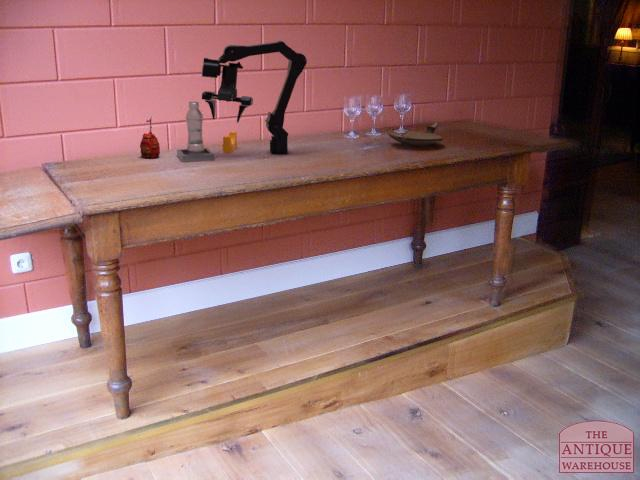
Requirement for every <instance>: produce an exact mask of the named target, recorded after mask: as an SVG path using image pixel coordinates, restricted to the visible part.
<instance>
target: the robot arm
mask: <svg viewBox="0 0 640 480" xmlns="http://www.w3.org/2000/svg"><path fill="white" fill-rule="evenodd" d="M222 52H223V54H222V55H221V56H219V57H218V59H212V58H211V59H210V58H208V57H203V61H202V67H201V77H202V78H203V77H205V78H211V79H218V77H219V76H221V81H220V86H219V89H218V91H217V94H216V91H210V90H205V91H203V92H202V94H201V100H204V102H205V103H207V104H208V106H209V110H210V112H211V117H212V119H213V121H214V120H215V119H216V105H217V104H216V103H217V102H216V100H218V101H220V102H223V101H224V102H229V103H230V102H233V103H234V102H235V103H240V104H239V105H238V111H237V112H238V113H237V118H236V123H237V124H238V123H239V122H240V119H241V117H242V116H243V113H244V111H245V109H246V108H249V107H250V106H251V107H252V106H253V104H254V98H253V97H252V96H244V95H242V96H240V97H239V96H238V89H237V81H238V70H239V69H240V70H243V69H244V66H243V65H242V64H241V62H240V61H239V60H242V59H245V58H249V57H252V56H258V55H265V54H274V53H280V54H281V55H282V56H283V57H284V58H285V59H287V60H288V63H287V72H286V77H285V79H284V81H283V85H282V87H281V91H280V93H279V96H278V99H277V102H276V104H275V106H274V109H273V111H271V112H270V111H268V113H267V117H266V119H264V120H265V121H264V122H265V128H266V130H267V131H268V132H269V133H270V134H271V137H270V138H271V139H270V140H269V152H270V153H271V155H283V154H284V155H287V154H289V150H288V137H289V132H287V130H286V129H285V128H284V124H285V114H286V110H287V108H288V104H289V102H290V99H291V97H292V94H293V91H294V88H295V86H296V82H297V80H298V78H299V77H300V75H301V74H302V73H303V71H304V69H305V67H307V66H306V65H307V63H308V61H307V58H306V55H304V54H303V53H301V52H298V51H297V52H296V51H295V49H292V48H291V47H289V45H287V43H285V41H282V40H277V41H273V42H266V43H257V44H251V45H241V44H228V45H226V46H225V47H224V48H223V51H222ZM236 61H237V62H236ZM235 62H236V63H235ZM226 63H228V64H226Z"/></svg>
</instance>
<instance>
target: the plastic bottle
mask: <svg viewBox="0 0 640 480" xmlns="http://www.w3.org/2000/svg"><path fill="white" fill-rule="evenodd" d="M188 108H189V109H188V110H187V112H186V114H185V121H186V126H187V134H188V135H187V146H186V149H187V150H188V153H189V155H194V154H203V153H204V149H205V148H206V147H205V144H204V137H203V123H204V122H203V120H204V116H203V113H202V111H201V110H200V106H199V101H188Z"/></svg>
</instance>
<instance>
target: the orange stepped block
mask: <svg viewBox="0 0 640 480" xmlns="http://www.w3.org/2000/svg"><path fill="white" fill-rule="evenodd" d="M237 134H238V133H237V131H229V132H228V135H224V136H222V151H223V154H231V153H233V151H234V150H236V149H237V148H238V140H237V139H238V137H237V136H238V135H237ZM235 148H236V149H235Z"/></svg>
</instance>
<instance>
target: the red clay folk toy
mask: <svg viewBox="0 0 640 480" xmlns="http://www.w3.org/2000/svg"><path fill="white" fill-rule="evenodd" d="M152 118H153V116H150V118H149V119H146V121H145V122H146V123H149V125H150V126H149V131H148V133H146V132H145V133H143V135H142V139H141V141H140V144H139V148H140V157H142V158H147V159H156V158H158V157H159V156H160V154H161V148H160V142H159V140H158V137H157V136H156V135H155V133H153V132H152V127H153V126H152V120H153V119H152Z"/></svg>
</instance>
